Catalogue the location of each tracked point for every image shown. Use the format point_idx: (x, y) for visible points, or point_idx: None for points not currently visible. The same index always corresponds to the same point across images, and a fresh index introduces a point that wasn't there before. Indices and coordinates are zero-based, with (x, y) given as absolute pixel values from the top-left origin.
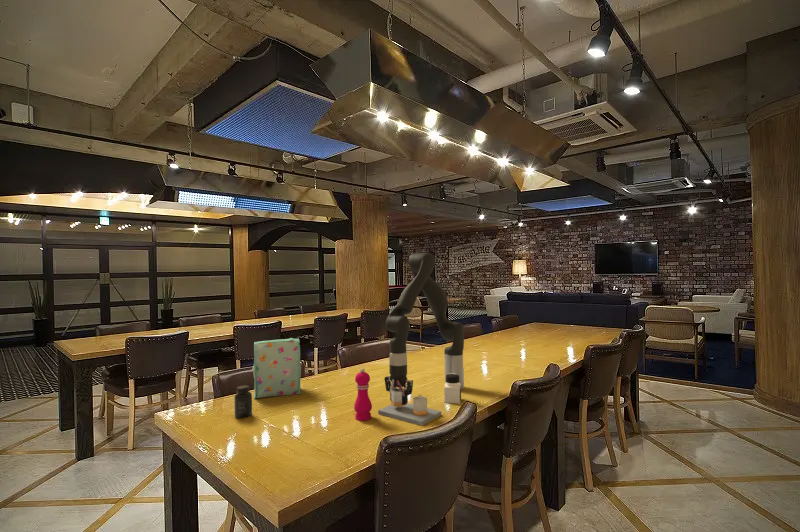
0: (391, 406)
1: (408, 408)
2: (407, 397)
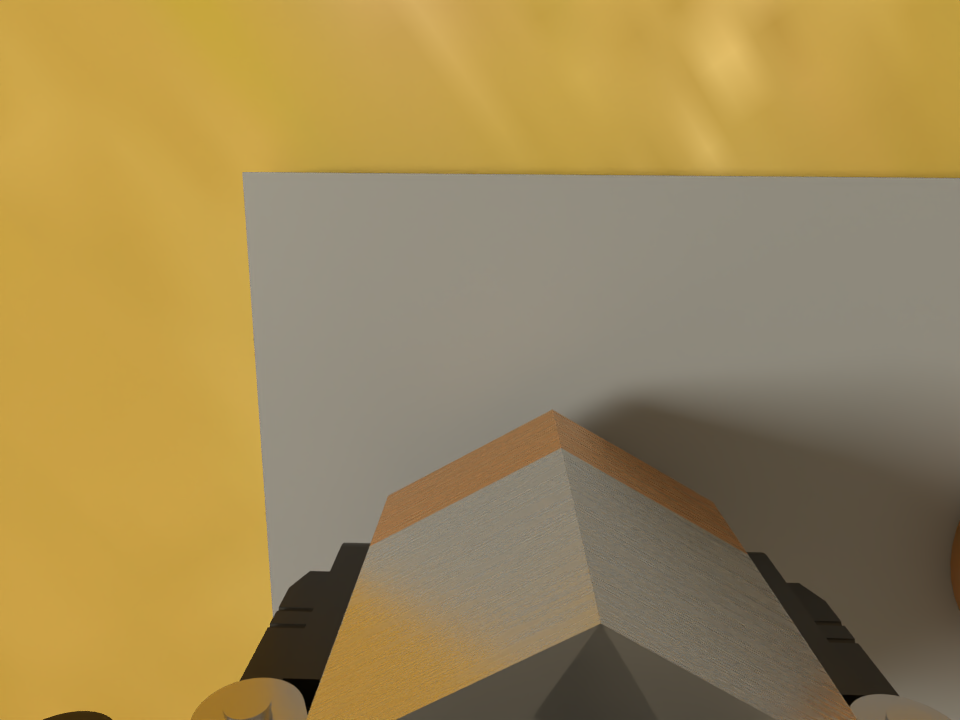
0: (346, 541)
1: (729, 449)
2: (887, 690)
